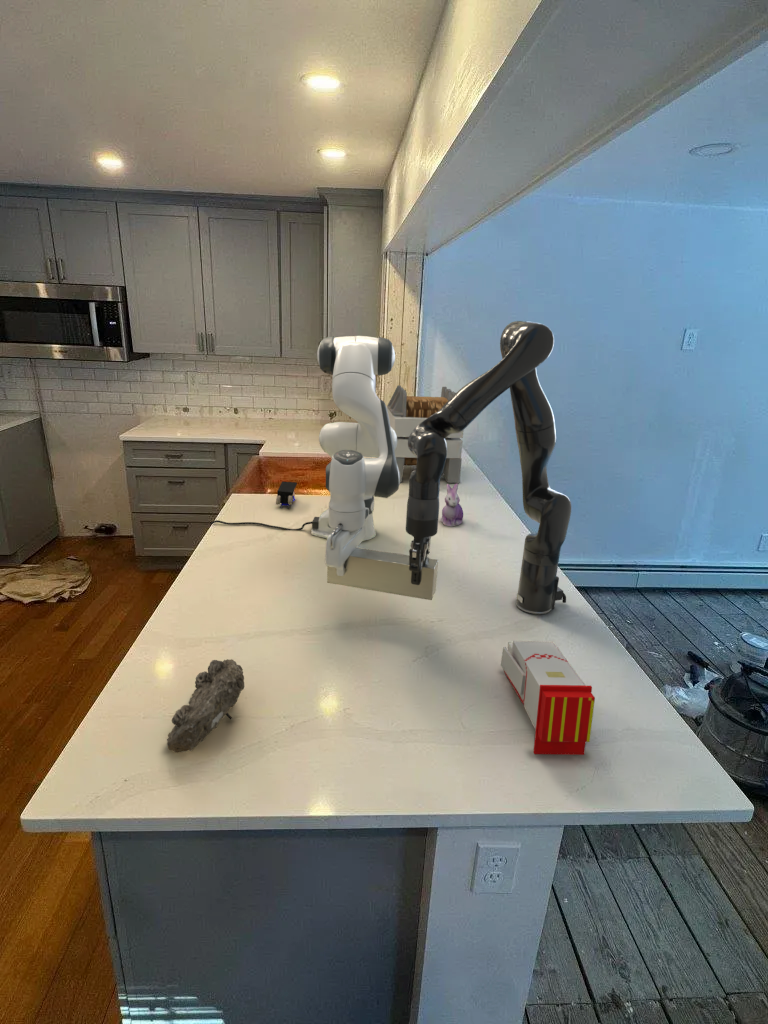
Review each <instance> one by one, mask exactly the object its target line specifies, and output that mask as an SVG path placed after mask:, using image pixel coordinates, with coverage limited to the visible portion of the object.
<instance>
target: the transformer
mask: <svg viewBox="0 0 768 1024" xmlns="http://www.w3.org/2000/svg"><path fill="white" fill-rule="evenodd" d="M440 393H441V394H440V396H415V395H414V396H413V395H412V396H411V395H407V394H408V393H407V390H406V389H404V388H403V387H402V385H399V384H398V385H397V386H396V388H395V390H394V392H393V394H392V395H391V398H390V400H389V402H388V404H387V405H386V408H387V412H388V416H389V422H390V427H392V428H393V429H394V431H395V433H396V435H397V446H396V449H395V450H394V452H395V457H396V462H397V465H398V468H399V472H400V483H402V482H403V475H404V469H405V466H406V467H407V466H411V467H412V466H413V467H416V464H417V456H415V455H414V454H413V453H412V452H411V451H410V450H409V448H408V438H409V436H410V434H411V432H412V431H413V430H414V429H415V428H416V427H417V426H418V425H419V424H420V423H421V422H423V421H424V420H426V419H427V418H428V417H430V416H431V415H433V414H434V413H436V412H437V411H439V410H440V409H441V408H442V407H443V406H444V405H445V404H446V403H447V402H448V401H449V400H450V399H451V398H452V397H453V396H454V395H455V394H456V393H457V392H455V391H453V390H452V389H451V388H447V386H442V387H441V392H440ZM464 431H465V429H464V430H463V431H461V432H460V433H453V434H450V435H449V436H448V437H446V438H445V440H446V443H447V457H446V461H445V465H444V468H443V472H442V475H443V478H444V479H445V481H446V482H447V484H456V483H457V484H459V483H461V472H462V461H463V460H462V453H463V442H464V441H463V440H462V439H463V438H464Z"/></svg>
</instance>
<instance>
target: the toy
mask: <svg viewBox="0 0 768 1024" xmlns="http://www.w3.org/2000/svg"><path fill="white" fill-rule="evenodd" d="M500 666H501V668H502V669H503V672H504V674H505V676H506V678H507V679H508V681H509V683H510V685H511V686H512V688H513V690H514V691H515V693H516V695H517V697H518V698H519V701H520V702H521V703H522V705H523V707H524V710H525V712H526V714H527V716H528V718H529V720H530V722H531V724H532V725H533V728H534V730H535V731H534V743H533V755H566V756H567V755H569V756H570V755H571V756H572V755H573V756H584V755H585V752H586V751H585V750H586V743H590V741H591V734H592V732H591V731H592V725H593V716H594V710H595V709H594V708H595V699H596V697H595V696H594V694H593V693H592V692H593V687H592V685H587V684H585V681H583V679H581V677H580V676H579V674H578V673H577V672H576V670H575V669H574V667H573V666H572V664H570V662H569V660H568V659H567V658H566V656H564V654H563V653H562V651H561V650H560V648H559V646H557V645H556V643H555V642H554V641H545V640H544V641H543V640H542V641H540V640H537V641H536V640H512V641H509V642H507V647H506V646H503V647H502V653H501V660H500Z"/></svg>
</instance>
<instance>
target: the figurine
mask: <svg viewBox="0 0 768 1024" xmlns="http://www.w3.org/2000/svg"><path fill="white" fill-rule="evenodd" d="M445 487H446V495H445V497H444V502H445V505H444V506H443V507H442V510H441V519H440V522H441V523H442V524H443V525H444V526H447V527H454V526H459V525H461V524H462V523H463V519H464V511H463V508H462V505H461V504H460V501H461V499H460V496H459V494H458V489H459V483H454V485H453V487H451V485H450V483H447V484H446V486H445Z"/></svg>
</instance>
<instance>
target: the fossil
mask: <svg viewBox="0 0 768 1024" xmlns="http://www.w3.org/2000/svg"><path fill="white" fill-rule="evenodd" d="M243 670H244V669H243V667H242V665H240V664H237V662H236V661H235V660H234V659H232V658H231V659H227V658H226V659H224V660H223V661H222V660H217V659H212V660H211V661H210V663H209V665H208V666H207V671H201V672H199V673H198V674H197V675H196V676H195V680H194V684H195V685H194V687H195V689H194V690H193V693H192V694H191V697H190V698H189V700H188V704H184V705H182V706H181V707H180V709H177V710H176V711H175V713H174V715H173V716H172V718H171V723H172V724H173V727H172V730H171V731H170V732H168V734H167V738H166V741H167V742H166V745H167V749H168V750H169V751H173V752H174V753H176V754H178V753H182V752H188V751H189V752H192V751H193V750H195V748H196V747H197V746H199V744H200V743H201V742H203V741H204V740H205V739H206V738H207V737H208V736H209V735H210V734H211V733H212V732H214V730H215V729H217V727H218V726H219V724H220V722H221V721H222V720H223V719H224V718H225V716H226V717H227V719H229V720H233V717H232V715H230V714H229V710H230V709H231V708H234V706H235V704H236V703H237V702H238V699H239V697H240V695H241V693H242V691H243V690H245V689H244V688H245V675H244V671H243Z"/></svg>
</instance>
